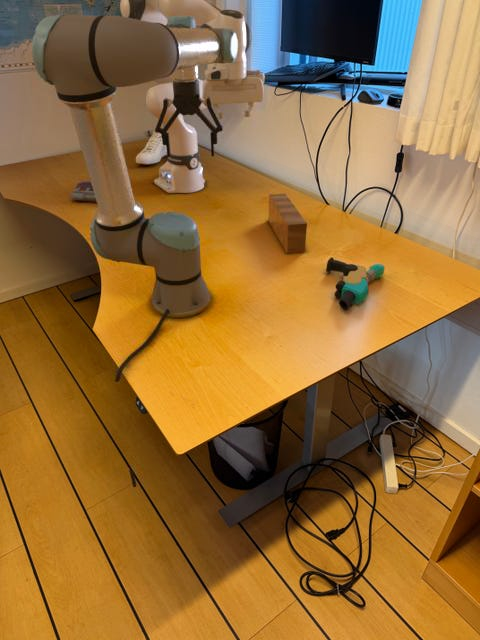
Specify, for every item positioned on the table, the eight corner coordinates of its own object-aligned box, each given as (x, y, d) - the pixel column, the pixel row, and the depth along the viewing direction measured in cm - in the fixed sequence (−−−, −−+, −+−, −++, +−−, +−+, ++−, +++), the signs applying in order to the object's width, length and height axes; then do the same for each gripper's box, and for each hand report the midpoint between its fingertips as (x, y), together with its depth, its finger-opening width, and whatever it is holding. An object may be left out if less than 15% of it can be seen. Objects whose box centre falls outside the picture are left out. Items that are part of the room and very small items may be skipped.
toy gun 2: (304, 289, 121) (361, 305, 115) (336, 248, 139) (387, 259, 134) (302, 304, 124) (359, 320, 118) (334, 262, 142) (384, 273, 136)
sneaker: (130, 167, 214) (125, 139, 207) (157, 149, 236) (154, 123, 229) (151, 169, 212) (147, 141, 204) (176, 150, 234) (174, 125, 226)
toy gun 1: (126, 191, 190) (111, 206, 179) (83, 188, 193) (65, 202, 182) (125, 182, 188) (109, 196, 176) (81, 179, 191) (63, 193, 179)
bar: (304, 251, 148) (307, 223, 142) (286, 253, 147) (288, 225, 141) (284, 219, 167) (285, 193, 162) (268, 220, 166) (269, 194, 161)
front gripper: (229, 76, 139) (230, 151, 151) (143, 78, 138) (152, 152, 151) (229, 81, 133) (231, 158, 145) (139, 82, 132) (149, 159, 145)
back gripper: (262, 68, 154) (261, 113, 163) (199, 71, 151) (202, 117, 160) (266, 71, 149) (265, 118, 158) (202, 74, 146) (204, 121, 155)
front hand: (190, 155), depth 148 cm, fingers open, 13 cm apart
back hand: (233, 117), depth 159 cm, fingers open, 8 cm apart
